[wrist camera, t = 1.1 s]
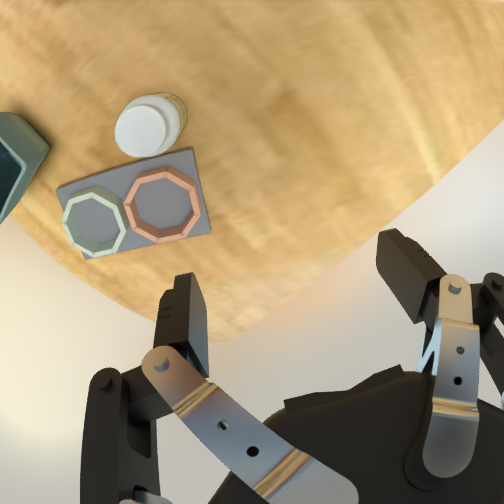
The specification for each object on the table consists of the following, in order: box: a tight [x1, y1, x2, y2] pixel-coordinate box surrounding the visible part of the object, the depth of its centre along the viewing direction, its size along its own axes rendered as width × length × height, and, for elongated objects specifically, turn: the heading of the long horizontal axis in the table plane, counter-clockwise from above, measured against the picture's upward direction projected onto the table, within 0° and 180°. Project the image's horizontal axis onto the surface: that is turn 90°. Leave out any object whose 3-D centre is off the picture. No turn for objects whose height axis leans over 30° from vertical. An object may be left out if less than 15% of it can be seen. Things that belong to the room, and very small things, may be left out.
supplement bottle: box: [115, 93, 187, 157], centre depth 22 cm, size 5×5×10 cm
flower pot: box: [0, 112, 49, 224], centre depth 21 cm, size 9×9×9 cm
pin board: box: [56, 147, 211, 260], centre depth 30 cm, size 10×17×3 cm, turn 98°
